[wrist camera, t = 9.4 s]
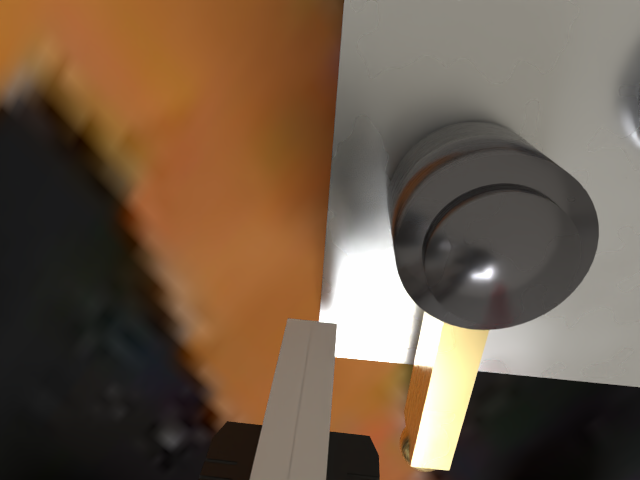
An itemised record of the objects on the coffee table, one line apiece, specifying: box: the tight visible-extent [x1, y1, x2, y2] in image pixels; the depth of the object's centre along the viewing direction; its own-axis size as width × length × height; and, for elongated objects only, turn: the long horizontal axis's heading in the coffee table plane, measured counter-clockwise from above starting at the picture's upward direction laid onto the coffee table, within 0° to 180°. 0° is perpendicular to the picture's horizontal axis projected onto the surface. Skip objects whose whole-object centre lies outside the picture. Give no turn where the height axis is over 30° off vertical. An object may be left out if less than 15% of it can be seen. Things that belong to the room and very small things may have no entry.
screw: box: [387, 122, 599, 472], centre depth 13 cm, size 11×4×4 cm, turn 176°
